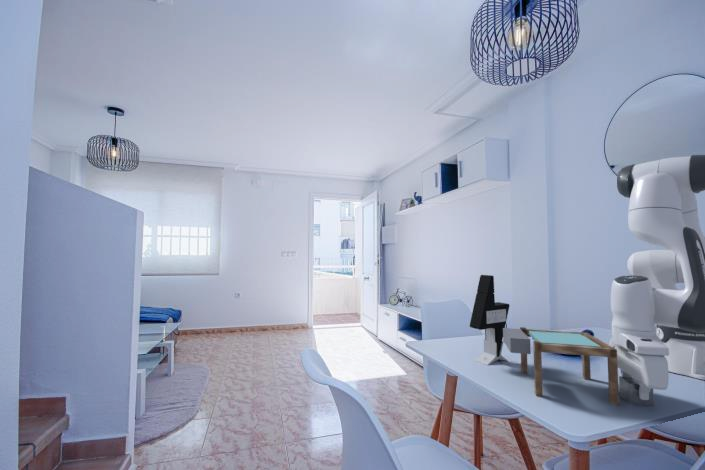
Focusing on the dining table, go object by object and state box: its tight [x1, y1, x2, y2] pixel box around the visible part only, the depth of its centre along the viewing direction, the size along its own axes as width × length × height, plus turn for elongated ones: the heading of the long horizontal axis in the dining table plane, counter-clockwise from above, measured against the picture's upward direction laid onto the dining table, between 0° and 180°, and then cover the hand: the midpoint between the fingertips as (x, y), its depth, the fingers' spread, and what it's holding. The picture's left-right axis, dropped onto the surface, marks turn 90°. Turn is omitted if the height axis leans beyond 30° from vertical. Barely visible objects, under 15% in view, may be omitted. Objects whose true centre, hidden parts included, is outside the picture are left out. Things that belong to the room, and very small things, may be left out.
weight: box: [618, 375, 655, 407], centre depth 84 cm, size 5×5×5 cm
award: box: [469, 274, 510, 366], centre depth 116 cm, size 15×5×30 cm, turn 117°
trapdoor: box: [502, 327, 601, 355], centre depth 95 cm, size 22×14×4 cm, turn 74°
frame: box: [519, 326, 620, 406], centre depth 93 cm, size 18×18×14 cm
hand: (636, 393), depth 84 cm, fingers open, 5 cm apart
